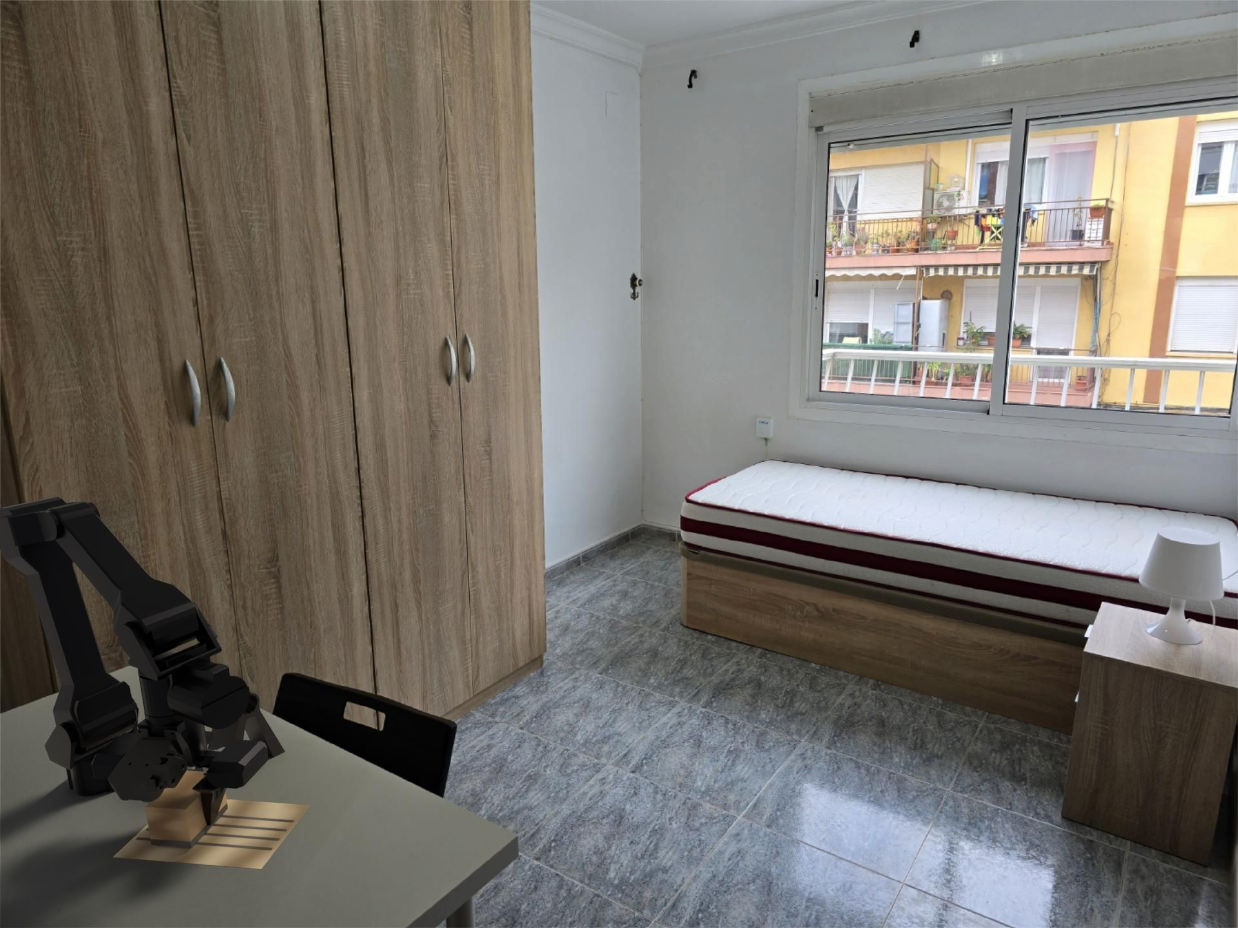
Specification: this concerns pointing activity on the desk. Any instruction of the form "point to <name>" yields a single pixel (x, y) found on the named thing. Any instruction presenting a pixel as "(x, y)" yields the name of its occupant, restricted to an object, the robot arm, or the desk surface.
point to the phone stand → (248, 730)
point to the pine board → (227, 837)
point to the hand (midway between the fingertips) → (190, 821)
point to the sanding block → (179, 814)
